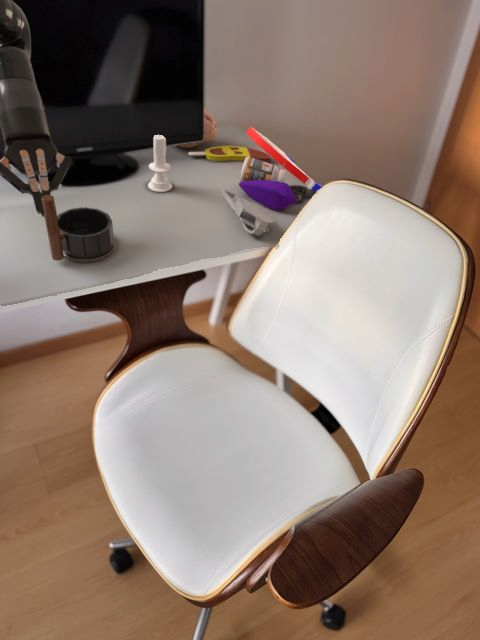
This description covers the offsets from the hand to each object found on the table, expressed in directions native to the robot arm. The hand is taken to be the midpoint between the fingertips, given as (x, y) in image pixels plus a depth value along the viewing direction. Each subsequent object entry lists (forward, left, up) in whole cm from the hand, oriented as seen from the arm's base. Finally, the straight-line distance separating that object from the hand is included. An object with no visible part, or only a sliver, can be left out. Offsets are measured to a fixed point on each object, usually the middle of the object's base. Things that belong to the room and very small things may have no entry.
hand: (46, 215), depth 94 cm
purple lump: (+43, +15, -7) cm, 47 cm away
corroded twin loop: (+56, +10, -9) cm, 57 cm away
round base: (+6, +2, -9) cm, 11 cm away
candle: (+27, +21, -9) cm, 35 cm away
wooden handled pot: (+5, +1, -8) cm, 10 cm away
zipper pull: (+41, +4, -5) cm, 41 cm away
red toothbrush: (+57, +19, -6) cm, 60 cm away
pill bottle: (+46, +19, -5) cm, 50 cm away
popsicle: (+38, +32, -8) cm, 50 cm away
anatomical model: (+37, +46, -11) cm, 60 cm away
